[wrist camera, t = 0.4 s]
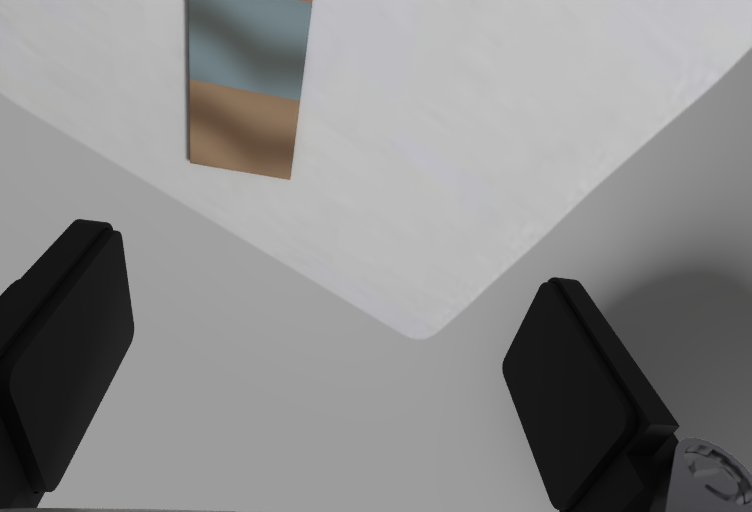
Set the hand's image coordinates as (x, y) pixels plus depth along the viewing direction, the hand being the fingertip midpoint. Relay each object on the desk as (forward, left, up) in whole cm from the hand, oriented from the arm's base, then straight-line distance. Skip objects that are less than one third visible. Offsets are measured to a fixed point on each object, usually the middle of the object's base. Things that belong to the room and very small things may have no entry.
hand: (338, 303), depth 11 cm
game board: (+2, -7, -33) cm, 33 cm away
